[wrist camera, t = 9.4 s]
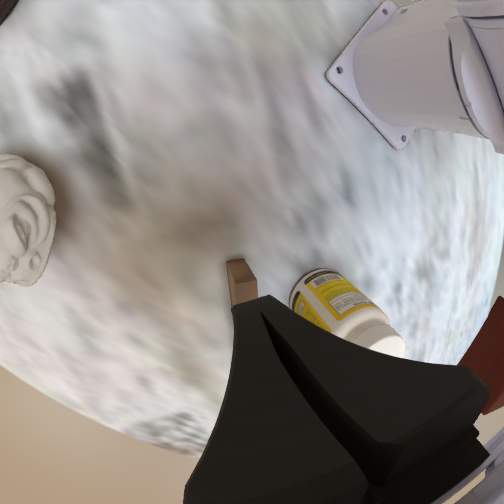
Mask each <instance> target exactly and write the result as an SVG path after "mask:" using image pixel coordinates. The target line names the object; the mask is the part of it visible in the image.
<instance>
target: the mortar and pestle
mask: <svg viewBox="0 0 504 504" xmlns="http://www.w3.org/2000/svg"><path fill="white" fill-rule="evenodd" d="M15 1H16V0H0V23H1V21H2V20H3V19H4V18H5V17H6V15H7V14H8V13H9V12H10V10H11V8H12V6H13V5H14V3H15Z"/></svg>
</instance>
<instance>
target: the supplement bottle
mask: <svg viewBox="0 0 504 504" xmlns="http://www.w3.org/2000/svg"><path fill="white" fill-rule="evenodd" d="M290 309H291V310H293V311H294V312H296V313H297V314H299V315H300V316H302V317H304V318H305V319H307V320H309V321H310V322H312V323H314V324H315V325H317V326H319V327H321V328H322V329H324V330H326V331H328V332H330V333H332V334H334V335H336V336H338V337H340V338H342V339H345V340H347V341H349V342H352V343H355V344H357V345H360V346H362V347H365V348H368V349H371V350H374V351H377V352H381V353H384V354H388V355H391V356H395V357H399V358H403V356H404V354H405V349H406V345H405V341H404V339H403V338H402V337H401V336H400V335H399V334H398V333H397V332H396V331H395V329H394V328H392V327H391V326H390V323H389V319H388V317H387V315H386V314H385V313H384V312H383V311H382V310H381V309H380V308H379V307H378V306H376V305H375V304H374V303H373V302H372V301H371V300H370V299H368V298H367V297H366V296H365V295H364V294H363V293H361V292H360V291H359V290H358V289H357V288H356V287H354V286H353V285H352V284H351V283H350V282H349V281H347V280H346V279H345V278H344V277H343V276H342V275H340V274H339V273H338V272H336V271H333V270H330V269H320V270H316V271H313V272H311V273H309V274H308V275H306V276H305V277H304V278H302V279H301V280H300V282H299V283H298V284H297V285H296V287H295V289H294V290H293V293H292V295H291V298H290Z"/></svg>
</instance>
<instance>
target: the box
mask: <svg viewBox="0 0 504 504" xmlns="http://www.w3.org/2000/svg"><path fill="white" fill-rule="evenodd" d="M457 366H467V367H469V368H470V369H471V370H472V371H473V372H474V373H475V374H476V375H478V376H479V377H480V378H481V379H482V380H483V381H484V382H485V383H486V384H487V385H488V386H489V387H490V396H489V399H488V401H487V403H486V405H485V407H484V409H483V410H482V412H481V413H482V414H483V415H486V414H488V413H490V412H493V411H494V410H497V409H499V408H501V407H503V406H504V298H503V297H501V296H498V297H497V299H496V301H495V303H494V305H493V307H492V308H491V310H490V312H489V314H488V317H487V319H486V321H485V322H484V324H483V326H482V327H481V329H480V331H479V332H478V334H477V336H476V337H475V339H474V340H473V342H472V344H471V345H470V347H469V348H468V350H467V351H466V353H465V354H464V356H463V357H462V359H461V360H460V362H459V363H458V364H457Z"/></svg>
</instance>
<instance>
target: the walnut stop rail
mask: <svg viewBox="0 0 504 504" xmlns="http://www.w3.org/2000/svg"><path fill="white" fill-rule="evenodd" d="M226 265H227V274H228V282H229V290H230V298H231V306H232V307H233V305H236V304H239V303H243V302H246V301H250V300H253V299H256V298H258V290H257V279H256V278H255V276H254V274H253V273H252V271H251V269H250V268H249V266H248V264H247V263H246V261H245V259H240V260H235V261H229V262H226ZM233 322H234V319H233Z"/></svg>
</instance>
